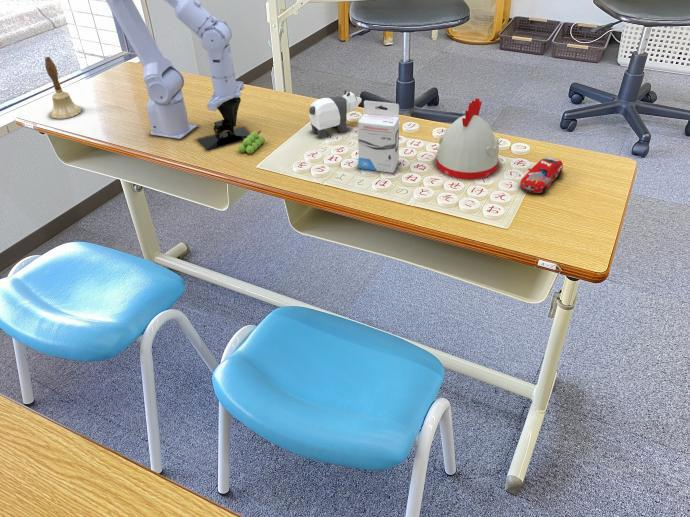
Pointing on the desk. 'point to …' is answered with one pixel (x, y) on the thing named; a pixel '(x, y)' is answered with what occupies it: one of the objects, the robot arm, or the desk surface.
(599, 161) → the desk surface
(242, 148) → the grapes
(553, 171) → the race car
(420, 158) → the desk surface
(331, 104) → the giant panda
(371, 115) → the ink box
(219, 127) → the build plate
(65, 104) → the hand bell
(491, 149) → the white and red dome
